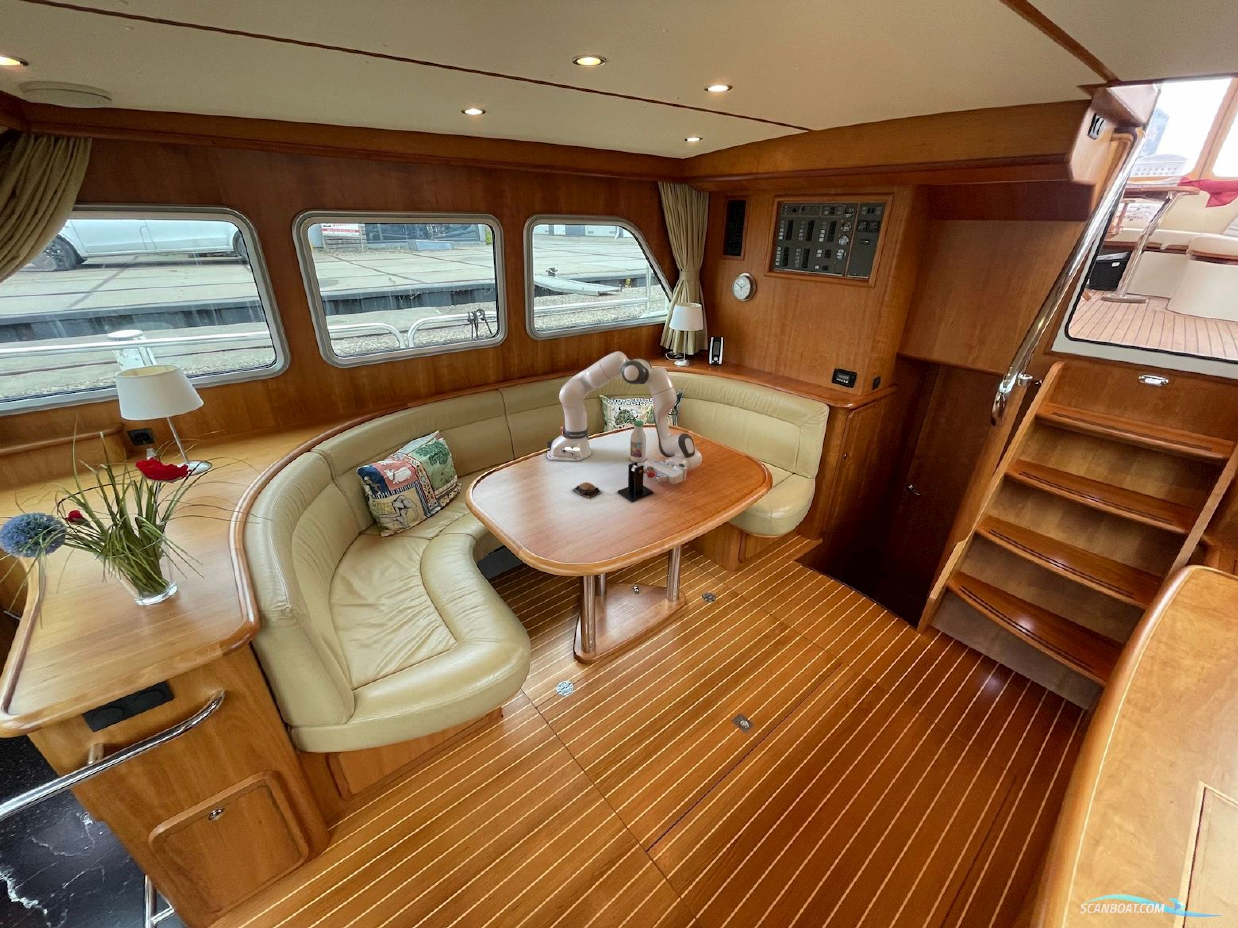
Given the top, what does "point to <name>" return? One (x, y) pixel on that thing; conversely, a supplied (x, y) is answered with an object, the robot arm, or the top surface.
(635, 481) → the bracket
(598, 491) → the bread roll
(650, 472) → the lever
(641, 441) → the milk bottle
